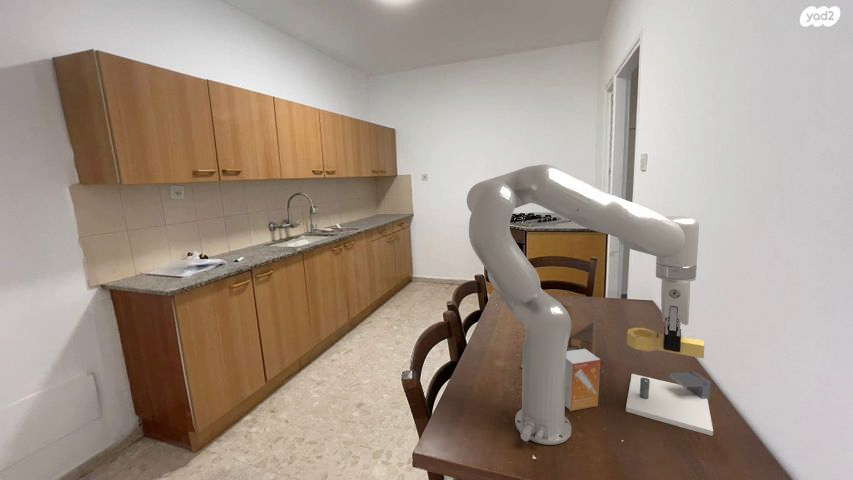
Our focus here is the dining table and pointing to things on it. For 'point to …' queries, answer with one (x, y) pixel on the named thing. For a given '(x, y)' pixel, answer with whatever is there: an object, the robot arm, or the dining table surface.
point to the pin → (644, 388)
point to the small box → (581, 379)
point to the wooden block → (582, 333)
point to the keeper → (693, 383)
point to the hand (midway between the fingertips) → (671, 346)
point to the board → (670, 405)
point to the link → (662, 342)
